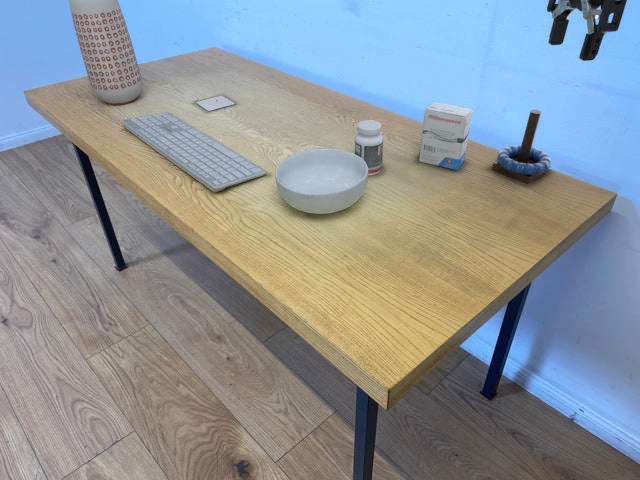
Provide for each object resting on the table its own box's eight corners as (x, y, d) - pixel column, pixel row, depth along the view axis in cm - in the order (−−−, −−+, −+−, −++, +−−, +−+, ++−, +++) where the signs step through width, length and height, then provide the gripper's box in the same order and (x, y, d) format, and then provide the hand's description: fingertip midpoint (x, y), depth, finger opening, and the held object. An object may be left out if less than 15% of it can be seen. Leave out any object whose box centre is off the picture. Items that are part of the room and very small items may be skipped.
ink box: (464, 161, 100) (474, 107, 93) (457, 171, 97) (467, 116, 90) (426, 152, 104) (433, 100, 96) (418, 161, 100) (424, 108, 93)
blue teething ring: (558, 165, 95) (561, 155, 94) (532, 182, 90) (535, 172, 88) (513, 148, 101) (516, 139, 100) (486, 164, 96) (488, 154, 94)
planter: (156, 94, 135) (129, -16, 118) (122, 111, 126) (88, -6, 108) (120, 88, 140) (90, -19, 122) (85, 104, 130) (47, -10, 113)
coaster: (195, 102, 129) (195, 99, 129) (221, 95, 133) (221, 92, 133) (208, 111, 124) (207, 108, 124) (235, 103, 128) (234, 101, 127)
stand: (548, 170, 96) (566, 112, 89) (527, 184, 92) (544, 124, 85) (513, 156, 101) (527, 100, 94) (491, 169, 97) (505, 111, 90)
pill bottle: (385, 166, 99) (388, 121, 93) (376, 178, 95) (379, 133, 89) (359, 161, 101) (361, 117, 95) (349, 173, 97) (350, 128, 91)
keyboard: (268, 175, 97) (267, 165, 96) (216, 198, 91) (214, 187, 89) (167, 114, 124) (165, 105, 122) (122, 128, 117) (119, 119, 116)
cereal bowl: (312, 171, 98) (311, 139, 94) (383, 194, 90) (385, 161, 86) (259, 209, 87) (255, 175, 83) (333, 239, 79) (333, 204, 75)
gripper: (670, -69, 59) (621, 64, 68) (599, -77, 70) (566, 38, 80) (614, -67, 58) (574, 67, 68) (551, -76, 69) (524, 41, 79)
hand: (569, 51), depth 74 cm, fingers open, 8 cm apart
